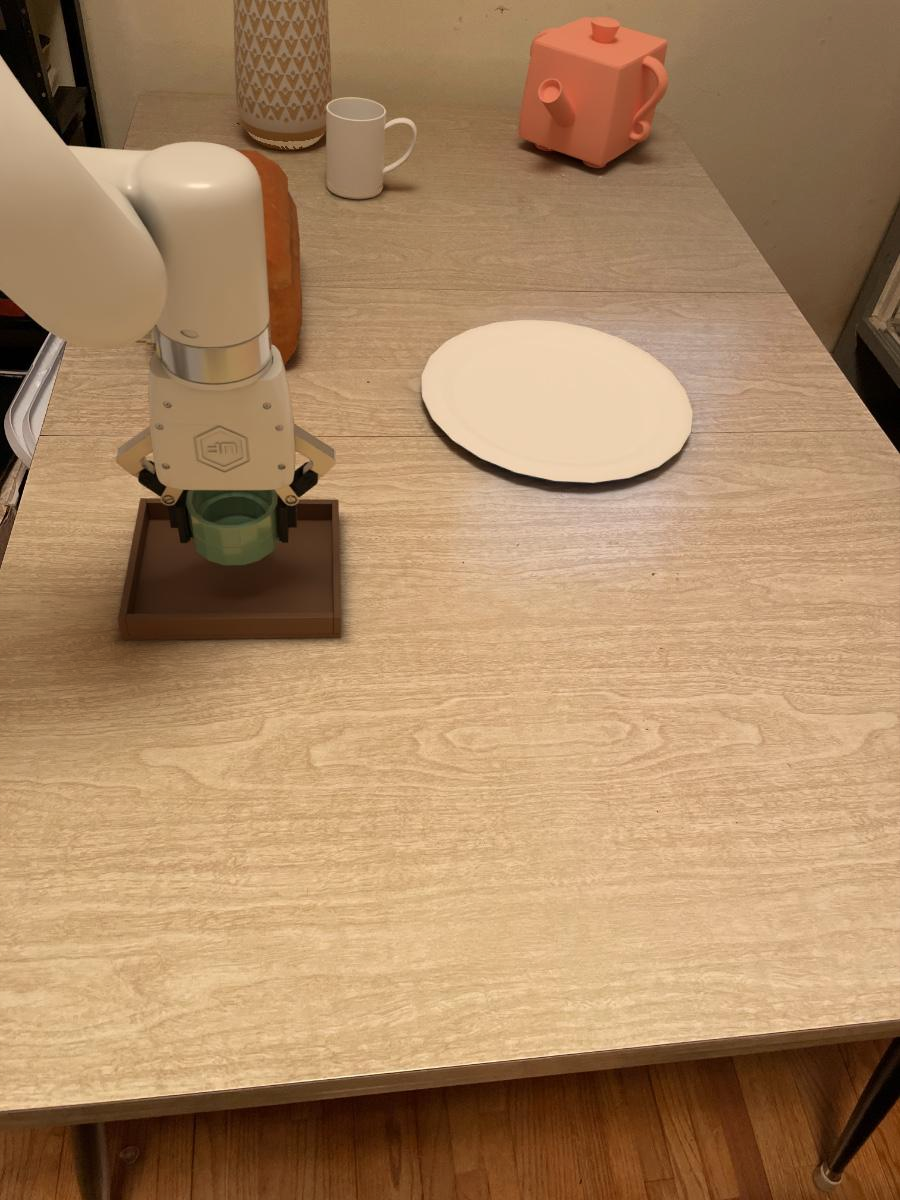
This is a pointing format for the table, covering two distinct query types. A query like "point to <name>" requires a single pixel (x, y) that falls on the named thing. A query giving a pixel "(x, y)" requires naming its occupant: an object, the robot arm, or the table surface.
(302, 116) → the vase
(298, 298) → the bread
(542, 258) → the table surface
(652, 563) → the table surface
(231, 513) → the bowl
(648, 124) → the teapot
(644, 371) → the plate
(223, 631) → the tray
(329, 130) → the mug
